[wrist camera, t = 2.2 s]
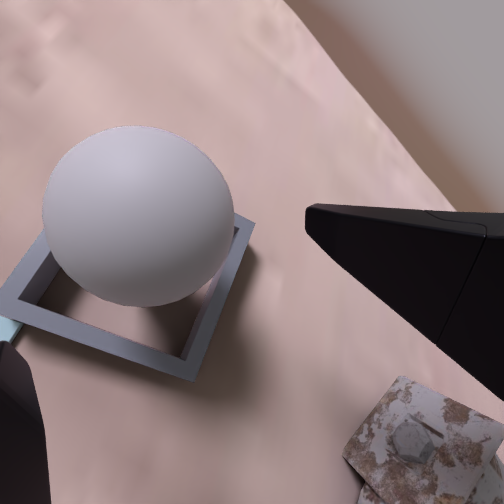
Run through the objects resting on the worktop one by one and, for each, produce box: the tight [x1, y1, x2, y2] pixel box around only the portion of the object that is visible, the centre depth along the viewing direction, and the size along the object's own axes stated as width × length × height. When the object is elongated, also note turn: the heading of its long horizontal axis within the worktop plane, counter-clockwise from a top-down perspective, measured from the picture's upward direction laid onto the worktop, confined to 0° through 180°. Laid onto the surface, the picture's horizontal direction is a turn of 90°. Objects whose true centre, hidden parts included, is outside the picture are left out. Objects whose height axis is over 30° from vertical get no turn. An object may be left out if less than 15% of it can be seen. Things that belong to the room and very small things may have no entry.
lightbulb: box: [42, 126, 235, 307], centre depth 12 cm, size 6×6×11 cm
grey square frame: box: [0, 213, 255, 383], centre depth 16 cm, size 10×10×2 cm
